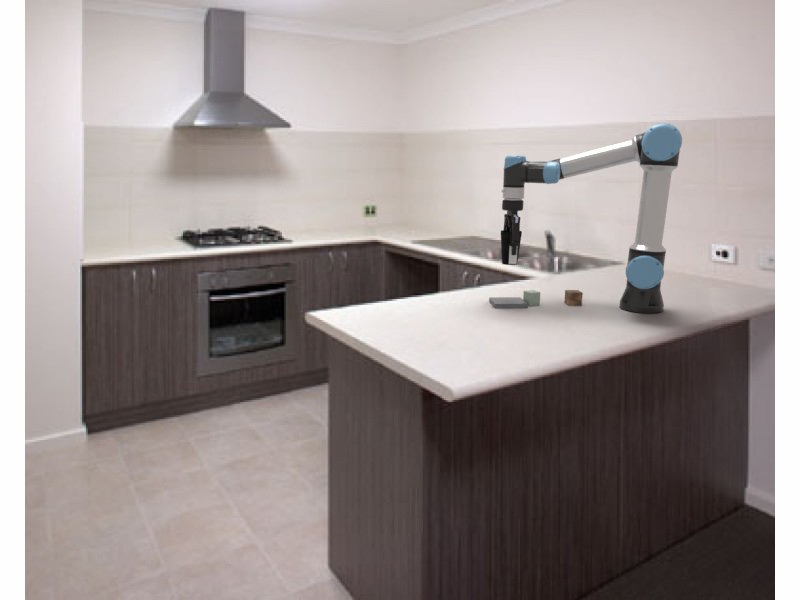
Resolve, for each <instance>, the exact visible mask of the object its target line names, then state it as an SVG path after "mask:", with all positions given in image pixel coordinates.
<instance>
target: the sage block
mask: <svg viewBox="0 0 800 600" xmlns="http://www.w3.org/2000/svg"><path fill="white" fill-rule="evenodd" d="M522 296H523V297H522V299H523V300H524V301H525V302H527V303H528V307H536V306H540V303H541V292H540V291H538V290H535V289H531V290H530V289H529V290H523V295H522Z"/></svg>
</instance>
